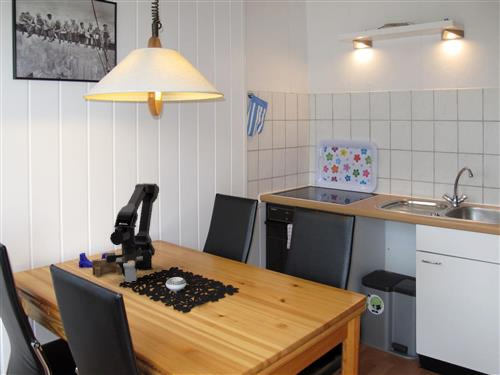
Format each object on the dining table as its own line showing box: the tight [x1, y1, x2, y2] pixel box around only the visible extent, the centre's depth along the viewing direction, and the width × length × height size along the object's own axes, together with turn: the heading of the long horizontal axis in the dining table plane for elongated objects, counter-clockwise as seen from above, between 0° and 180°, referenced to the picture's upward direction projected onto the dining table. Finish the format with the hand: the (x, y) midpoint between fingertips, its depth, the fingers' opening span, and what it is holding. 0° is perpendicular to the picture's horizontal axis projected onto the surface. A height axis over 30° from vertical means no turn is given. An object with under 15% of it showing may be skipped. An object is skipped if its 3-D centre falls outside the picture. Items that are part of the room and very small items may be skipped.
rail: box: [123, 262, 137, 283], centre depth 218 cm, size 4×12×5 cm, turn 19°
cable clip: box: [78, 252, 108, 269], centre depth 237 cm, size 12×4×6 cm, turn 86°
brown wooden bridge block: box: [91, 258, 129, 278], centre depth 225 cm, size 15×6×6 cm, turn 109°
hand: (129, 275), depth 218 cm, fingers closed on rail, 4 cm apart
